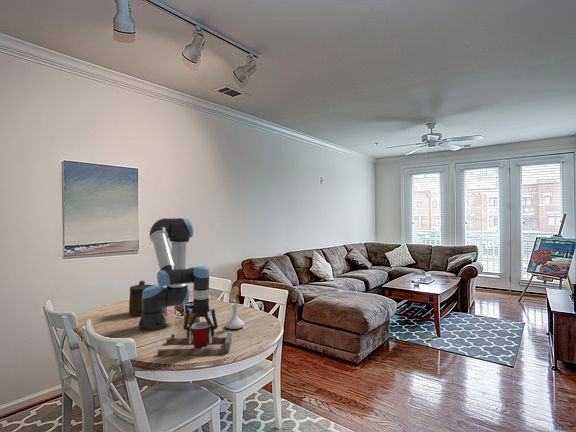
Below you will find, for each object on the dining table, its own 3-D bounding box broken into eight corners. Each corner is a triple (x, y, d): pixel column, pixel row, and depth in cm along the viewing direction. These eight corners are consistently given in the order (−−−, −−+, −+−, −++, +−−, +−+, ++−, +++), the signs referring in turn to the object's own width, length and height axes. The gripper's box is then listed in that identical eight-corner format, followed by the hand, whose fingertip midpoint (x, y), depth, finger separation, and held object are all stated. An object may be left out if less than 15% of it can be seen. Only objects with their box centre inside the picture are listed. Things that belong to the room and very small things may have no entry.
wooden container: (156, 310, 228) (156, 278, 228) (148, 316, 213) (148, 283, 213) (134, 310, 228) (135, 278, 228) (125, 316, 213) (125, 282, 213)
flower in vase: (223, 325, 198) (223, 284, 198) (241, 323, 202) (242, 282, 202) (227, 332, 186) (228, 288, 186) (247, 330, 190) (247, 287, 190)
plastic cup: (199, 342, 170) (199, 319, 170) (216, 346, 166) (216, 322, 166) (184, 350, 161) (184, 325, 161) (201, 354, 156) (202, 329, 156)
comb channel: (157, 355, 154) (157, 346, 154) (167, 342, 170) (167, 334, 170) (224, 354, 156) (224, 345, 156) (227, 341, 172) (227, 333, 172)
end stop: (224, 352, 158) (224, 342, 158) (227, 342, 171) (227, 333, 171) (228, 352, 158) (229, 342, 158) (231, 342, 171) (231, 332, 171)
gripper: (176, 299, 159) (176, 346, 159) (222, 299, 160) (221, 345, 160) (180, 296, 166) (180, 340, 166) (224, 295, 168) (223, 339, 168)
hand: (200, 343), depth 163 cm, fingers closed on plastic cup, 9 cm apart
